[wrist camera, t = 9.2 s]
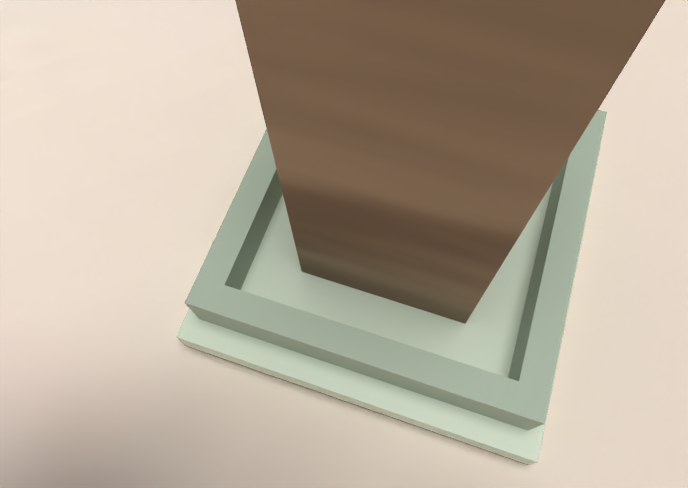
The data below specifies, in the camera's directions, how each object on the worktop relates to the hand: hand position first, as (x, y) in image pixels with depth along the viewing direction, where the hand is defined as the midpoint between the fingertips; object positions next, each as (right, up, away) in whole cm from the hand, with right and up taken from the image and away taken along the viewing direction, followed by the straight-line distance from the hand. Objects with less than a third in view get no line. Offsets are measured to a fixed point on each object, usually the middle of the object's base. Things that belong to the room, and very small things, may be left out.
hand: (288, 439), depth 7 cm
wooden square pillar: (+3, +3, +10) cm, 11 cm away
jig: (+3, +3, +11) cm, 12 cm away
